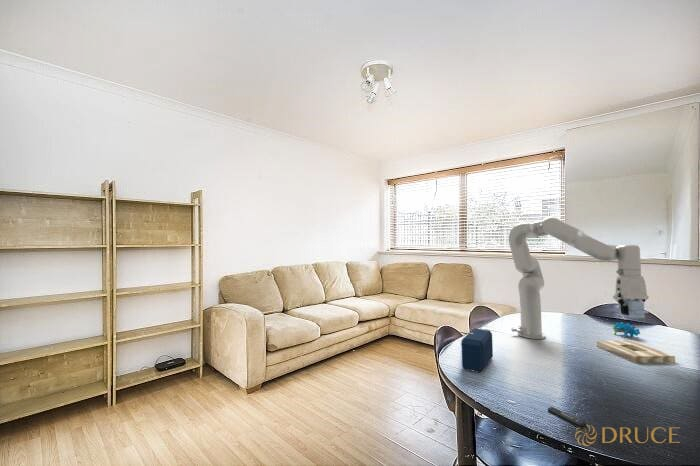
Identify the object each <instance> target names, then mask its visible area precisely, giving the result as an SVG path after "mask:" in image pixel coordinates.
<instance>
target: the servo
mask: <svg viewBox="0 0 700 466" xmlns="http://www.w3.org/2000/svg"><path fill="white" fill-rule="evenodd" d="M623 302H624V300H623ZM626 306H628V315H625V314H621V305H620V304H619V303H618V305H614V308H615V309H618V316H619V315H620V316H624V317H627V318H631V319H646V318H645V317H646V316H645V314H649V312H650V311H649V310H645V302H643V301H638V300H634V299H628V302H627V305H626Z"/></svg>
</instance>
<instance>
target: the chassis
mask: <svg viewBox="0 0 700 466" xmlns="http://www.w3.org/2000/svg"><path fill="white" fill-rule="evenodd" d="M596 346H597V347H598V348H601V349H602V350H605V351H608V352H610V353H611V354H614V355H616V356H618V357H621V358H623V359H625V360H628V361H630V362H632V363H635V364H636V363H637V364H641V363H642V364H643V363H644V364H645V363H647V364H648V363H650V364H651V363H653V364H654V363H658V364H659V363H661V364H662V363H664V364H665V363H676V356H675V355H673V354H670V353H667V352H665V351H663V350H659V349H657V348H654V347H651V346H648V345H645V344H643V343H640V342H638V341H634V340H631V339H627V340H626V339H625V340H621V339H620V340H614V339H613V340H610V339H609V340H596Z"/></svg>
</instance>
